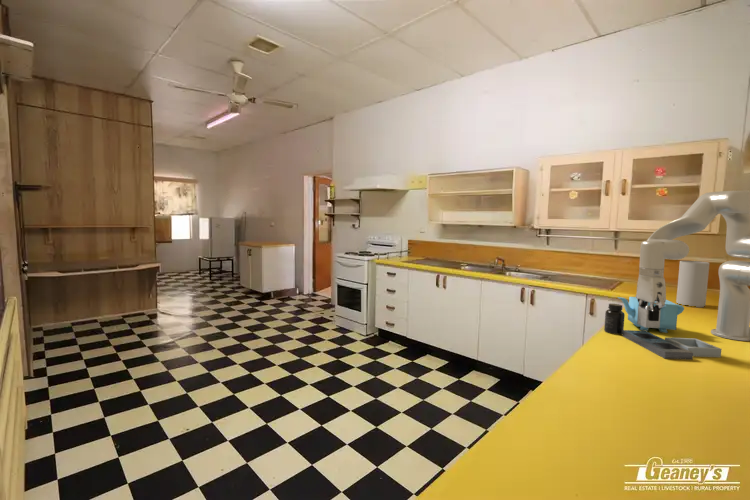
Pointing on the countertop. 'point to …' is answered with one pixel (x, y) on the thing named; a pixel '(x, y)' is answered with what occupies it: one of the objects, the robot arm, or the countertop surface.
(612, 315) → the supplement bottle
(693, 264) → the cylinder vase
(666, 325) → the teakettle
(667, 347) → the rail
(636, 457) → the countertop surface
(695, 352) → the parts tray
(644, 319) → the beige block with knob
